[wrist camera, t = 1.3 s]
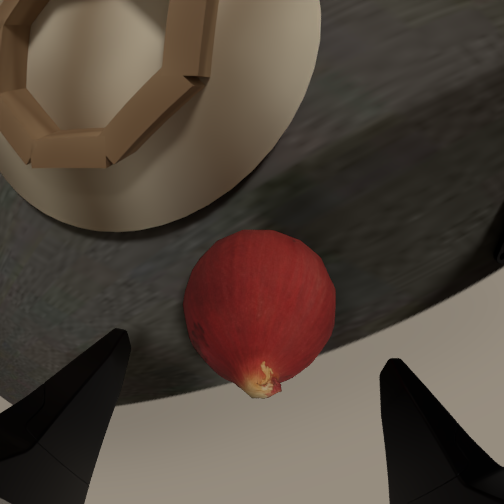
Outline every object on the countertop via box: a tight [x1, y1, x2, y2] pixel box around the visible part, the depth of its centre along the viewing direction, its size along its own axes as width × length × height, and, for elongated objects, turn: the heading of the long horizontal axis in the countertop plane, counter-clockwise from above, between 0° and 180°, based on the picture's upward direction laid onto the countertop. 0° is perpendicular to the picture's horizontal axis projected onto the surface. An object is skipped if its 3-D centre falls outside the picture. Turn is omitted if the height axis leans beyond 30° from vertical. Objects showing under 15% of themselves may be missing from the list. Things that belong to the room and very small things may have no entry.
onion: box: [183, 230, 335, 399], centre depth 12 cm, size 6×6×8 cm
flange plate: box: [0, 0, 321, 232], centre depth 8 cm, size 18×18×4 cm
